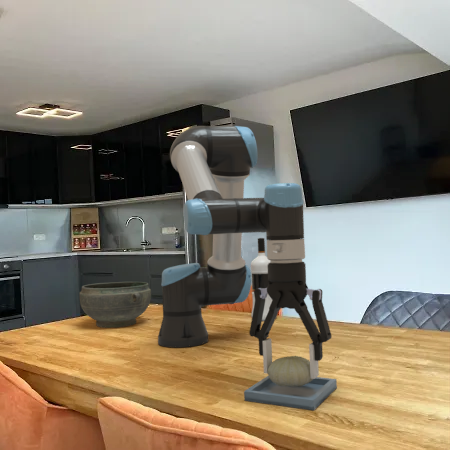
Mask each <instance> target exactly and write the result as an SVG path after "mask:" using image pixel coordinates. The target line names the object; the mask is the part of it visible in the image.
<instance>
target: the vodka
mask: <svg viewBox="0 0 450 450" xmlns="http://www.w3.org/2000/svg"><path fill="white" fill-rule="evenodd" d="M265 241H266V240H265V238H264V237H259V238H257V256H256V257H255V258H254V259H253V260H251V262H250V272H251V295H252V297H251V298H252V310H251V317H252V316H253V310H254V305H255V295H254V290H255V289H258V288H267V287H268V284H269V281H268V263H270V260H268V259H267V255H266V245H265V244H266V243H265ZM271 303H272V299H271V297H270V296H269V294H267V297H266V298H265V306H264V311H263V317H262V322H264V320H265V318H266V316H267V314H268V311H269V307H270V305H271ZM277 317H278V315H277V316H276V318H277Z"/></svg>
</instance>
